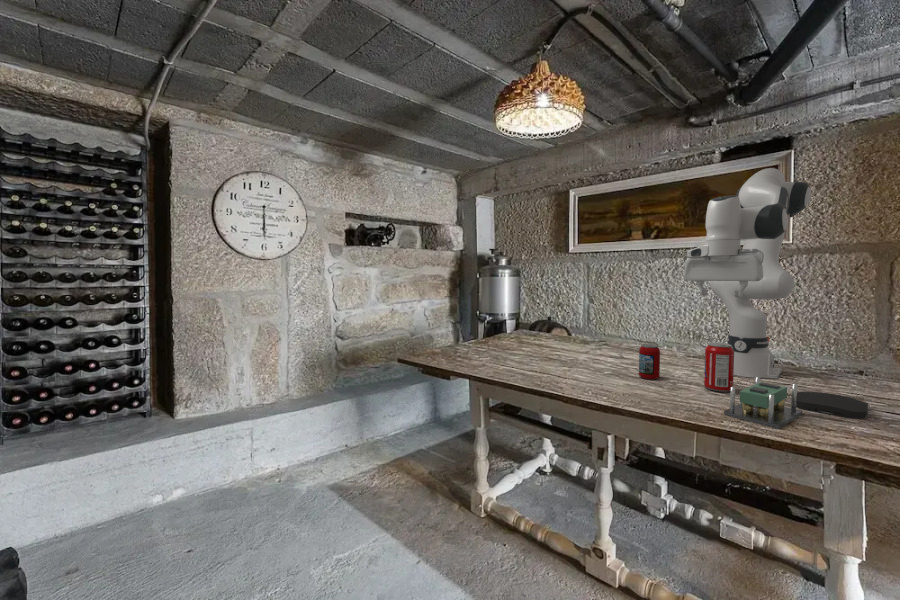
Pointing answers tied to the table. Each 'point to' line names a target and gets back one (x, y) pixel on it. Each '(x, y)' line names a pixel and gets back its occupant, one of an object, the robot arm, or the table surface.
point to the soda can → (719, 367)
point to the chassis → (765, 410)
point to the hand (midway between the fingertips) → (720, 296)
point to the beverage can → (649, 361)
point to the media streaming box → (832, 404)
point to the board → (762, 394)
